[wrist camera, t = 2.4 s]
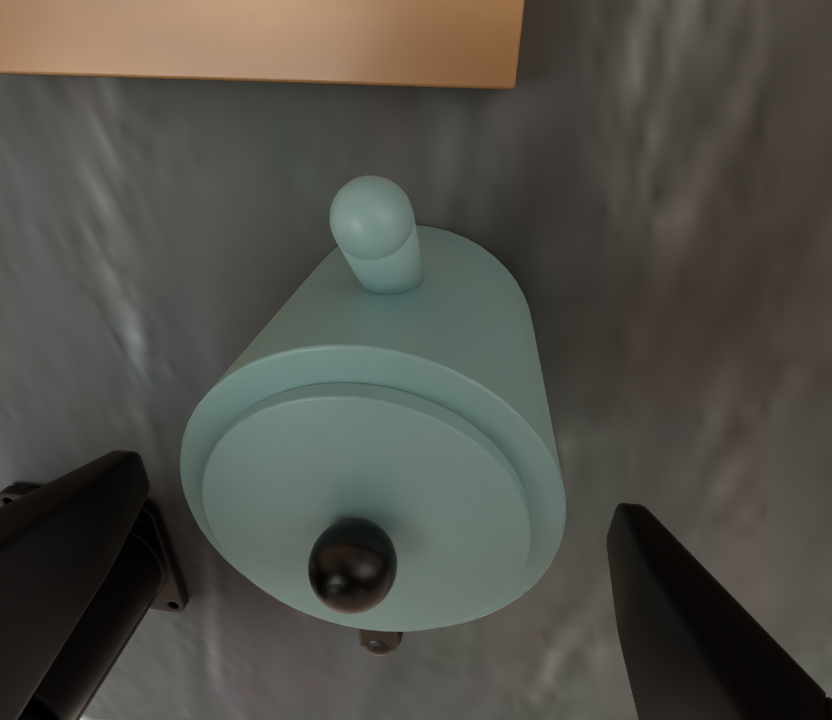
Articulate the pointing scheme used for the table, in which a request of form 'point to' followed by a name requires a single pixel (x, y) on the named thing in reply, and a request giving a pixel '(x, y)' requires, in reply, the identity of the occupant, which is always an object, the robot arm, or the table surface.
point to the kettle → (384, 434)
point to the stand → (268, 40)
